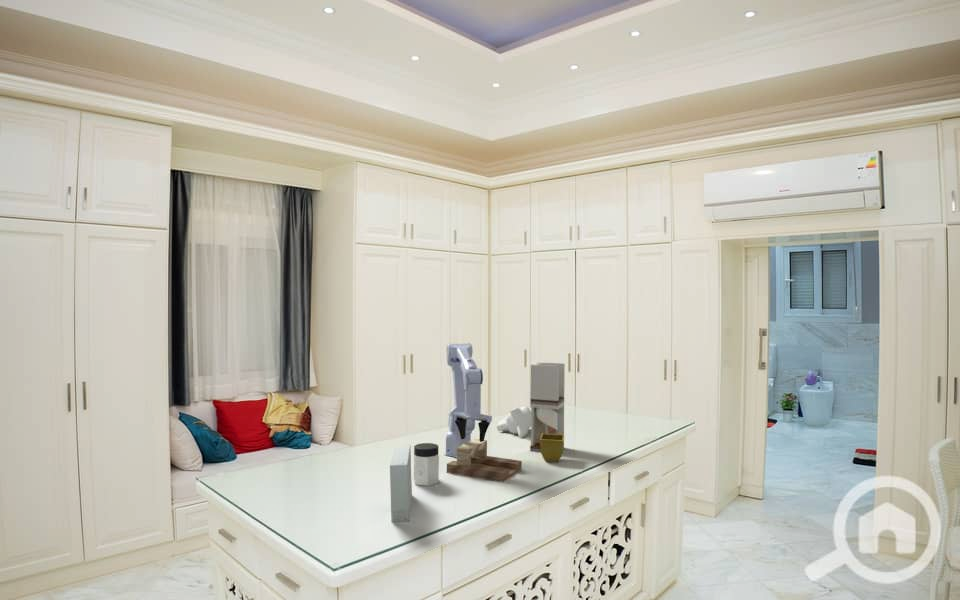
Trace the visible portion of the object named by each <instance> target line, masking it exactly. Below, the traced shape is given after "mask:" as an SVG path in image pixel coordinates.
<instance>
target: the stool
mask: <svg viewBox="0 0 960 600" xmlns="http://www.w3.org/2000/svg"><path fill="white" fill-rule="evenodd" d="M472 454H473V456H479V457H487V456H488V440H487V439H484V441H483V442H480V438H474V439H472V440H471V441H469V442H467V443H465V444H463V445H461V446H459V447H457V457H456V461H457V465H463V466H471V455H472Z"/></svg>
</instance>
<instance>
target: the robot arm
mask: <svg viewBox="0 0 960 600" xmlns="http://www.w3.org/2000/svg"><path fill="white" fill-rule="evenodd" d="M445 350H446V351H445V352H446V362H447V365H448V366H450V367H451V371H452V380H453V393H454V395H453V397H454V408H452V409H451V410H450V411H449V413H448V430H449V431H447V433H446V436H445V453H444V456H447V457H449V456H450V457H454V458H455V457H456V458H457V447H459V446H461V445H463V444H465V443H467V442H469V441H472V440H471V439H472V434H473V431H474V430H475V429H476V421H477V422H478V421H479V422H478V423H477V425H478V429H479V430H478V431H479V439H480V442H483V441H484V440H485V437H486V433H487V430H488V428H489V427H490V425H491V422H492V421H493V416H492V415H487V414H484V413H483V414H482V411H481V409H482V407H481V406H482V405H481V401H482V400H481V399H482V398H481V394H482V386H481V385H483V381H484V373H483V370H482V368H478V366H477V363H476V362H475V360H474V359H473V358H472V357H473V345H472V343H470V342H467V343H447V344H446V349H445Z"/></svg>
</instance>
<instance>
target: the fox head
mask: <svg viewBox="0 0 960 600" xmlns="http://www.w3.org/2000/svg"><path fill="white" fill-rule="evenodd" d="M519 406H520V405H517V406H516V407H514V408H512V409H511V411H509V414H507V415H506V417H505V418H502V419H501V420H500V421H499V423H498V424H496V429H497V431H498V432H502V433H503V432H504V433H506V432H507V433H508V432H509V433H511V434H515V435H518V438H519V439H522V438H524V437H526V436H527V435H528V433H529V430H530V429H531V408H529V407H527V406H522V407H520V408H519Z"/></svg>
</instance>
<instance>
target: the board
mask: <svg viewBox="0 0 960 600" xmlns="http://www.w3.org/2000/svg"><path fill="white" fill-rule="evenodd" d="M522 462H523V461H522V460H519V459H511V458H504V457H497V456H491V455H487V457H479V456H473V454H472V455H471V466H463V465H457V460H452V461H450V462H448V463H446V473H449V474H454V475H459V476H460V475H461V476H467V477H473V478H477V479H483V480H484V479H485V480H490V481H495V480H496V481H495V482H501V481H502V483H504V482H505V480H506V481H507V480H508V479H510V478H511V477H513V476H514V475H515V473H516V474H517V473H518V472H520V471H521V470H522V465H523V463H522ZM512 475H513V476H512Z"/></svg>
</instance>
